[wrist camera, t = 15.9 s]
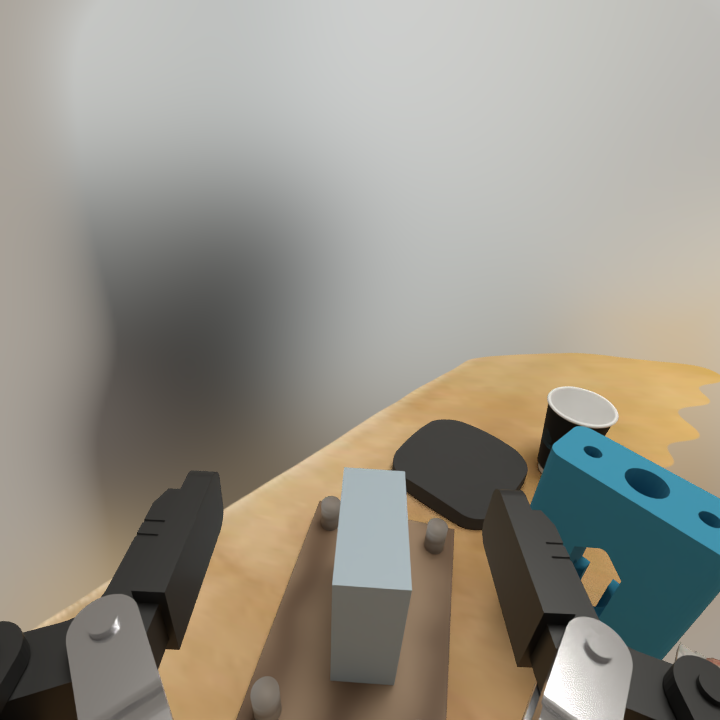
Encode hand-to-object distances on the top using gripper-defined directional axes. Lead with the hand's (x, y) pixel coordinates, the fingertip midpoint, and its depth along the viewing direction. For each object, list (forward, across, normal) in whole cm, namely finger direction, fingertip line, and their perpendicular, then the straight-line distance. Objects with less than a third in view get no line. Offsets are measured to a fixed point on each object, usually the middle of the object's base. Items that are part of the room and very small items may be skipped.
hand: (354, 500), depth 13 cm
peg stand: (+13, -2, +31) cm, 34 cm away
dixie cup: (+34, -28, +30) cm, 54 cm away
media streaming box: (+33, -15, +31) cm, 47 cm away
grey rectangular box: (+13, -2, +29) cm, 31 cm away
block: (+13, -21, +31) cm, 40 cm away
